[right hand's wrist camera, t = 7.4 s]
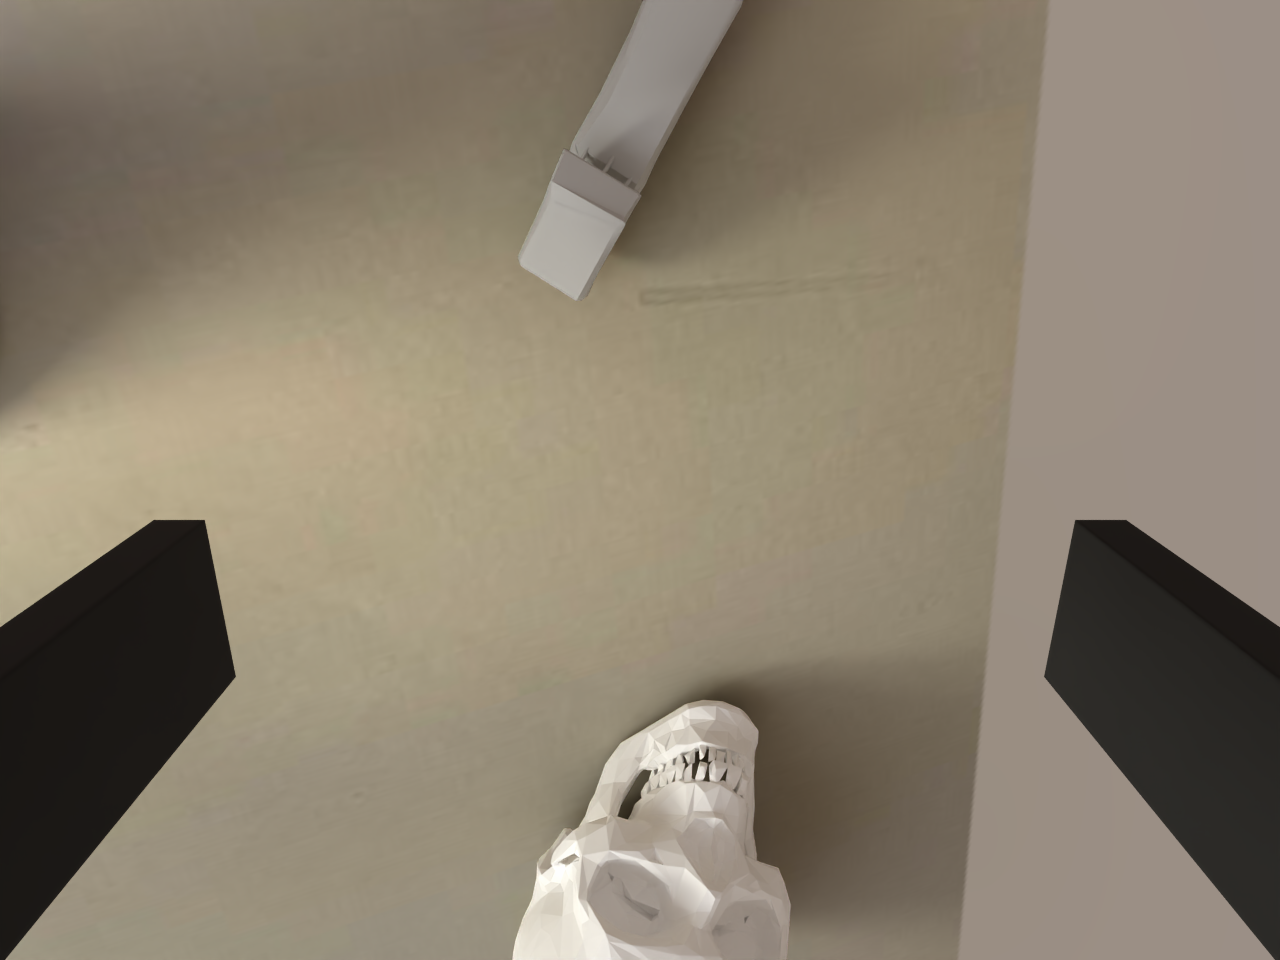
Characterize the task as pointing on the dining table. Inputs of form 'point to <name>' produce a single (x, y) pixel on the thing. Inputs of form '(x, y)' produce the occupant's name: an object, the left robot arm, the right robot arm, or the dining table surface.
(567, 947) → the skull
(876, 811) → the dining table surface
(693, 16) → the clamp
